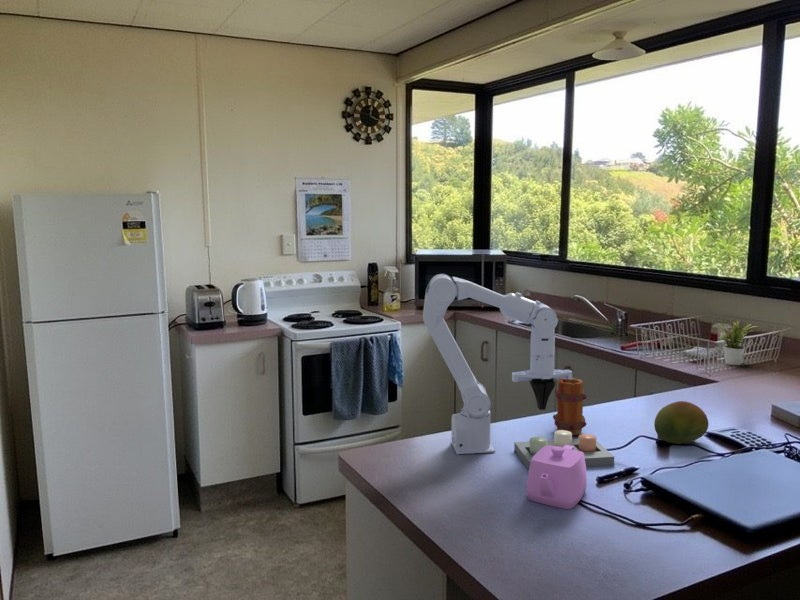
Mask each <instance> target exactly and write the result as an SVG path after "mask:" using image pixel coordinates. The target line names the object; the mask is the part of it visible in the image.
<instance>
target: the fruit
mask: <svg viewBox="0 0 800 600" xmlns="http://www.w3.org/2000/svg"><path fill="white" fill-rule="evenodd" d="M709 425H710V423H709V419H708V417H707V414H706V413H705V411H704V410H703V409H702V408H700V406H697V404H694V403H692V402H690V401H689V402H688V401H686V400H679V401H675V402H672V403H669V404H667V405H665V406H663V407H662V408H661V409H660V410H659V411H657V414H656V416H655V419H654V425H653V426H654V431H655V433H656V434H657V436H658V437H659V438H660V439H662V440H663V441H665V442H667V443H669V444H675V445H679V444H680V445H681V444H687V443H691V442H695V441H697V440H699V439H700V438H701V437H703V436H704V435H705V434H706V433H707V431H708V429H709Z"/></svg>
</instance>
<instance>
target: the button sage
mask: <svg viewBox="0 0 800 600" xmlns="http://www.w3.org/2000/svg"><path fill="white" fill-rule="evenodd" d="M547 441H548V440H547V438H545V437H541V436H533V437H529V442H530V455H535V454H536V453H537V452H538V451H539V450H540V449H541V448H543V447H544V446H546V445H547Z"/></svg>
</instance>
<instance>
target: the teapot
mask: <svg viewBox="0 0 800 600" xmlns="http://www.w3.org/2000/svg"><path fill="white" fill-rule="evenodd" d="M587 477H588V476H587V467H586V464H585V458H584V453H583V452H582V451H577V450H574V446H569V445H565V446H564V447H563V448H562V447H558V446H550V445H546V446H544V447H543V448H541V449H540V450H539V451H538V452H537V453H536V454H535V455H534V456H533V458H532V459H531V463H530V467H529V469H528V474H527V482H526V495H527V498H528V500H529V501H531V502H535V503H538V504H542V505H545V506H550V507H553V508H558V509H563V510H572V509H573V508H574V507H575V506H576V505H577V504H578V503H579V502H580V501H581V499H582V497H583V496H584V494H585V492H586V489H587V485H588V484H587V482H588V481H587V480H588V479H587Z"/></svg>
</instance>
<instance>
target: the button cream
mask: <svg viewBox="0 0 800 600" xmlns="http://www.w3.org/2000/svg"><path fill="white" fill-rule="evenodd" d="M553 433H554V434H553V435H554V436H553V437H554V439H553V440H554V446H558V447H562V448H563V447H564V446H565V445H569V446H572V439H573V436H572V433H571V432H569V431H566V430H558V431H557V430H555V431H554V432H553Z"/></svg>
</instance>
